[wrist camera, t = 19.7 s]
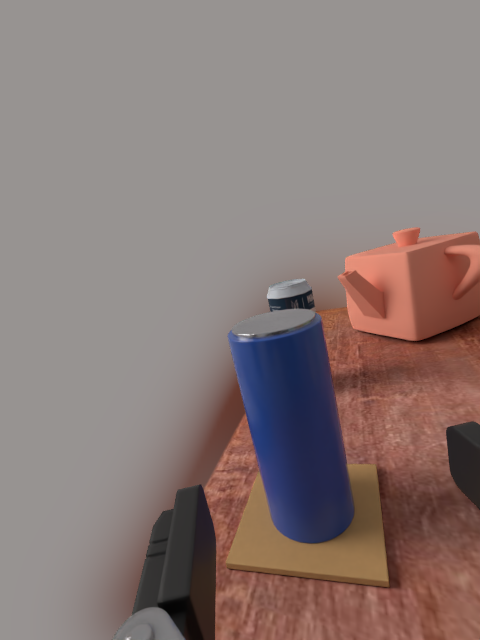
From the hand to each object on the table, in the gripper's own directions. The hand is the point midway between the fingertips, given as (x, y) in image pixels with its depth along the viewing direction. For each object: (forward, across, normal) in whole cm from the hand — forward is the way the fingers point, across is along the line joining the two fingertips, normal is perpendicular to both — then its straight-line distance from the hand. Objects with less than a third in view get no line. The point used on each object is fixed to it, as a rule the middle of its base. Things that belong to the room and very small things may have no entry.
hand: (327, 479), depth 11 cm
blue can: (+9, 0, +9) cm, 12 cm away
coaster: (+9, 0, +9) cm, 13 cm away
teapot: (+38, -22, +10) cm, 44 cm away
